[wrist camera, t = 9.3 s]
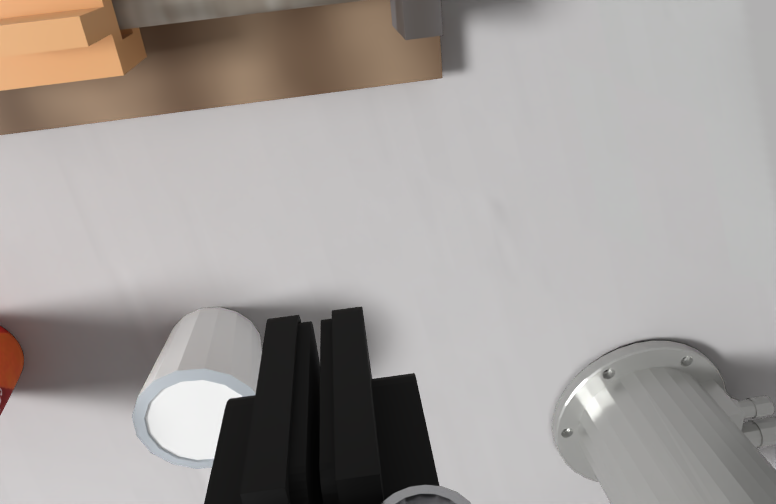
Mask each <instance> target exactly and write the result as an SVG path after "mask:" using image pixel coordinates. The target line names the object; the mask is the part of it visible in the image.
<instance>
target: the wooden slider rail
mask: <svg viewBox="0 0 776 504" xmlns="http://www.w3.org/2000/svg"><path fill="white" fill-rule="evenodd" d="M111 1H112V4H113V8H114V11H115V15H116V18H117V22H118V25H119V29H120V30H123V29H131V28H139V29H140V33H141V37H142V40H143V44H144V48H145V51H146V55H147V57H146V58H145V59H143V60H142V61H141V62H140V63H139V64H137V65H136V66H135V67H134V68H132V69H131V70H130V71H129V72H127V73H126V74H125V75H123V76H115V77H107V78H99V79H91V80H83V81H75V82H67V83H59V84H51V85H43V86H35V87H27V88H19V89H11V90H3V91H0V135H5V134H13V133H20V132H28V131H36V130H44V129H51V128H59V127H67V126H75V125H82V124H90V123H98V122H106V121H113V120H121V119H129V118H137V117H144V116H152V115H160V114H168V113H175V112H183V111H191V110H199V109H206V108H214V107H222V106H230V105H237V104H245V103H253V102H261V101H269V100H276V99H284V98H292V97H300V96H307V95H315V94H323V93H331V92H338V91H346V90H354V89H362V88H369V87H377V86H385V85H393V84H400V83H408V82H416V81H424V80H431V79H439V78H442V62H441V45H440V36H443V27H442V9H441V0H111Z"/></svg>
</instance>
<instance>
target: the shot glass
mask: <svg viewBox="0 0 776 504" xmlns="http://www.w3.org/2000/svg"><path fill="white" fill-rule="evenodd" d="M261 356H262V346H261V338H260V334H259V332H258V331H257V329H256V328H255V326H254V325H253V323H252V321H250V320H249V319H247V318H246V317H244V316H243V315H241V314H240V313H238V312H236V311H233V310H229V309H225V308H221V307H213V308H201V309H198V310H196V311H194V312H191V313H189V314H187V315H185V316H184V317H183V318H182V319H181V320H180V321H179V322H178V323H177V324H176V325H175V326H174V327H173V329H172V331H171V333H170V335H169V337H168V339H167V341H166V343H165V345H164V347H163V349H162V351H161V353H160V355H159V357H158V359H157V360H156V362H155V364H154V366H153V368H152V370H151V372H150V374H149V376H148V378H147V380H146V382H145V384H144V386H143V388H142V390H141V392H140V394H139V396H138V398H137V401H136V405H135V408H134V411H133V415H132V419H133V423H134V427H135V431H136V435H137V437H138V438H139V439H140V440H141V442H142V443H143V444H144V445H145V446H146V447H147V449H148V450H149V451H150V452H151V453H152V454H154V455H156V456H158V457H160V458H162V459H164V460H165V461H167V462H169V463H171V464H174V465H180V466H185V467H190V468H195V469H200V468H210V467H212V465H213V461H214V456H215V452H216V447H217V442H218V438H219V433H220V429H221V424H222V419H223V415H224V410H225V406H226V403H227V401H228V400H229V399H231V398H238V397H245V396H252V395H255V394H256V388H257V381H258V375H259V368H260V362H261Z"/></svg>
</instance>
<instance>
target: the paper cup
mask: <svg viewBox="0 0 776 504" xmlns="http://www.w3.org/2000/svg"><path fill="white" fill-rule="evenodd" d="M23 365H24V355H23V351H22V349H21V346H20V344H19V343H18V341H17V340H16V339H15V337H14V336H13V335H12V334H11V333H10V332H8V331H7V330H6V329H4V328H3V327H1V326H0V415H1V413H2V411H3V409H4V407H5V405H6V403H7V401H8V399H9V398H10V396H11V394H12V391H13V389H14V387H15V385H16V383H17V381H18V379H19V377H20V374H21V372H22V369H23Z"/></svg>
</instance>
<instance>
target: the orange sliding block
mask: <svg viewBox="0 0 776 504" xmlns="http://www.w3.org/2000/svg"><path fill="white" fill-rule="evenodd" d="M146 57H147V55H146V51H145V48H144V44H143V40H142V37H141V33H140V29H139V28H131V29H123V30H120V29H119V25H118V22H117V18H116V15H115V11H114V8H113V4H112V1H111V0H0V91H3V90H11V89H19V88H27V87H35V86H43V85H51V84H59V83H67V82H75V81H83V80H91V79H99V78H107V77H115V76H123V75H125V74H126V73H127V72H129V71H130V70H131V69H132V68H134V67H135V66H136V65H137V64H139V63H140V62H141V61H142V60H143V59H145V58H146Z"/></svg>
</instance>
